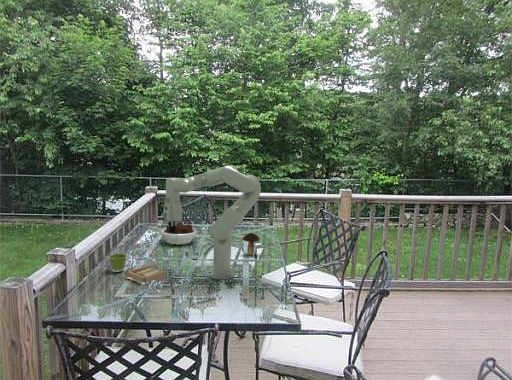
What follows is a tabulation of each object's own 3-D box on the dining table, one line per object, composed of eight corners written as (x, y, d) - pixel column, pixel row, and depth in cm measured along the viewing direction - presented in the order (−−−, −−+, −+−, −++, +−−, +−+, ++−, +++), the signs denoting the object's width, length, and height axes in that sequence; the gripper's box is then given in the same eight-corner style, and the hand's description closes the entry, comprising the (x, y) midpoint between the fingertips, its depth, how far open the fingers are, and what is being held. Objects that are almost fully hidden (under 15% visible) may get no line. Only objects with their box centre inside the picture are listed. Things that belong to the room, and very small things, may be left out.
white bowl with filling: (158, 239, 296) (159, 218, 294) (193, 238, 304) (193, 218, 302) (161, 248, 272) (162, 226, 270) (199, 247, 280) (199, 225, 278)
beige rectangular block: (161, 276, 220) (162, 270, 220) (146, 282, 211) (147, 276, 210) (151, 273, 224) (151, 267, 223) (135, 279, 215) (135, 272, 214)
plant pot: (121, 275, 220) (121, 259, 219) (105, 273, 222) (105, 257, 221) (129, 269, 229) (129, 254, 228) (114, 268, 231) (114, 253, 230)
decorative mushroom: (258, 258, 261) (259, 235, 259) (241, 257, 261) (242, 234, 259) (258, 253, 272) (259, 231, 270) (242, 252, 272) (243, 230, 270)
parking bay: (165, 278, 218) (165, 271, 217) (144, 285, 207) (144, 278, 206) (148, 272, 226) (148, 265, 226) (126, 278, 215) (126, 271, 214)
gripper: (166, 202, 217) (166, 236, 219) (187, 199, 229) (186, 231, 231) (157, 200, 221) (157, 233, 224) (178, 198, 233) (177, 229, 236)
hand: (172, 232), depth 228 cm, fingers closed
